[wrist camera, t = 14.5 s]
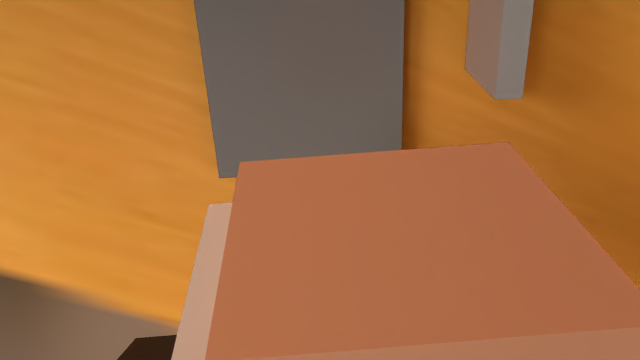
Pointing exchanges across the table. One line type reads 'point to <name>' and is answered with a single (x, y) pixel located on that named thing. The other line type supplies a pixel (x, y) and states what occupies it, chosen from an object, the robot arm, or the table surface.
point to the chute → (499, 45)
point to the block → (414, 263)
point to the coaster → (302, 77)
